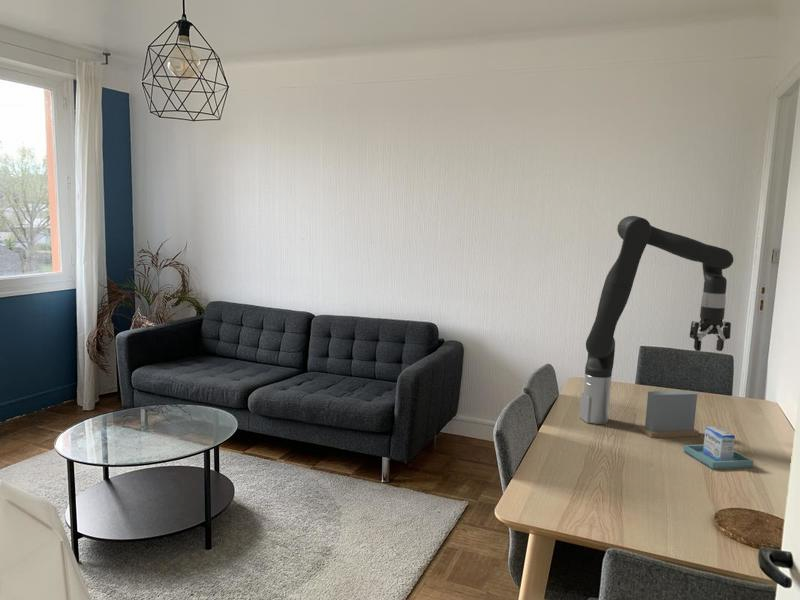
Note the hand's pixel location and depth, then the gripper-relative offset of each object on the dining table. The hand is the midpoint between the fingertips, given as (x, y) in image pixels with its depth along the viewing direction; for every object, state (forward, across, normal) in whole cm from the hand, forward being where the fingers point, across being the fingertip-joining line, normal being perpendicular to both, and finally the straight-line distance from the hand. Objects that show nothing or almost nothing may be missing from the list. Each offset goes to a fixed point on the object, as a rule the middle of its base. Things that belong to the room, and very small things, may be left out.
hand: (708, 350), depth 210 cm
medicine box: (+28, -15, -28) cm, 42 cm away
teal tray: (+28, -15, -28) cm, 42 cm away
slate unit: (+28, -16, -5) cm, 33 cm away
